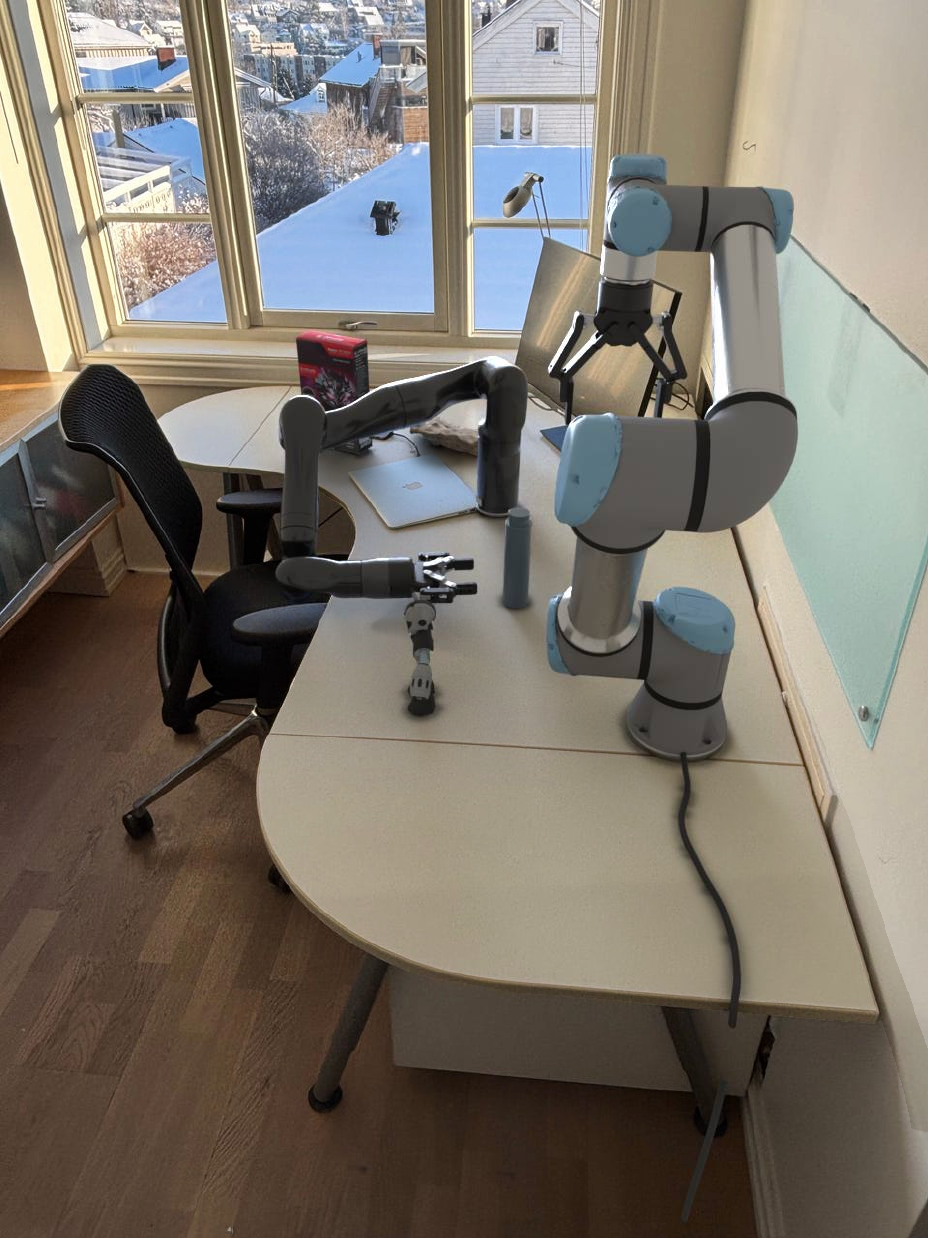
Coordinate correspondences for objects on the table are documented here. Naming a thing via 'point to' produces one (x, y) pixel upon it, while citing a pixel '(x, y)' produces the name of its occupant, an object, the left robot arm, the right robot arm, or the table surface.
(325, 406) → the graphics card box
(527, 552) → the blue-grey bottle
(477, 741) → the table surface
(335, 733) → the table surface
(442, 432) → the stone
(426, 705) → the robot
